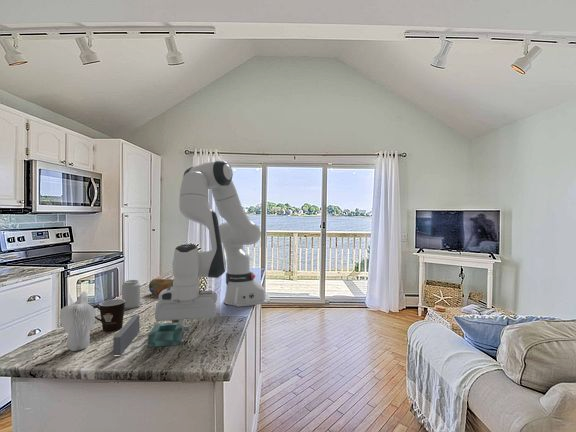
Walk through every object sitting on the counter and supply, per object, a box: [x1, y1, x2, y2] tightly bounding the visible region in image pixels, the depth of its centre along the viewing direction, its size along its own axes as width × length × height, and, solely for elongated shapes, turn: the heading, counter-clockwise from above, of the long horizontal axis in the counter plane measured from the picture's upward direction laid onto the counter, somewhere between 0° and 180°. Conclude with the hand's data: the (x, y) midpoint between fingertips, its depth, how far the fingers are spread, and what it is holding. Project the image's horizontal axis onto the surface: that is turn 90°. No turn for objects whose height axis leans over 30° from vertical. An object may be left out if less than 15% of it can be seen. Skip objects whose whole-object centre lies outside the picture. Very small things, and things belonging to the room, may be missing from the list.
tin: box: [148, 278, 174, 296], centre depth 164 cm, size 15×3×8 cm, turn 77°
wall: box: [112, 314, 140, 356], centre depth 105 cm, size 2×20×6 cm, turn 10°
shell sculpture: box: [59, 290, 97, 352], centre depth 101 cm, size 8×8×18 cm
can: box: [121, 279, 141, 310], centre depth 143 cm, size 8×8×12 cm
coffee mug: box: [93, 298, 125, 333], centre depth 118 cm, size 12×9×10 cm
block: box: [147, 321, 185, 348], centre depth 107 cm, size 10×10×4 cm
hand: (186, 331), depth 108 cm, fingers closed
